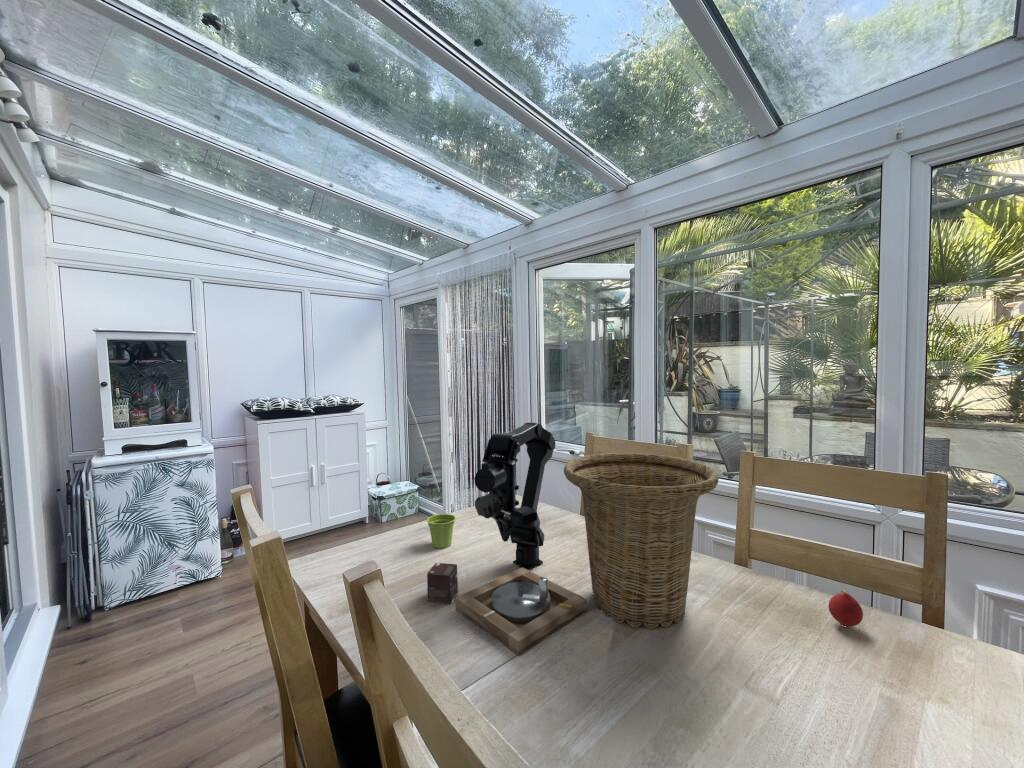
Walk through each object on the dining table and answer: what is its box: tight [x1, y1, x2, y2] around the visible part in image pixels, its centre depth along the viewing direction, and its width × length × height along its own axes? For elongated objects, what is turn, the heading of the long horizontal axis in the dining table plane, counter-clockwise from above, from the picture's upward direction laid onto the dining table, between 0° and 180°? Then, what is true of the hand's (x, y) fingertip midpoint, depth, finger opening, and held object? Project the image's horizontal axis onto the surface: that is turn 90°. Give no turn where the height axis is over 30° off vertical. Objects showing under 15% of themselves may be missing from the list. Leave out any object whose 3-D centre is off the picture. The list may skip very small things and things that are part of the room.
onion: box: [827, 589, 864, 628], centre depth 91 cm, size 6×6×8 cm
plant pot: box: [426, 513, 457, 549], centre depth 136 cm, size 9×9×9 cm
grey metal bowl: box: [491, 576, 551, 624], centre depth 98 cm, size 14×14×7 cm
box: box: [426, 562, 459, 605], centre depth 105 cm, size 6×6×7 cm
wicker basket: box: [563, 452, 719, 630], centre depth 101 cm, size 35×35×33 cm
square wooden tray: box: [454, 567, 588, 657], centre depth 98 cm, size 22×22×3 cm
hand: (505, 540), depth 109 cm, fingers closed
